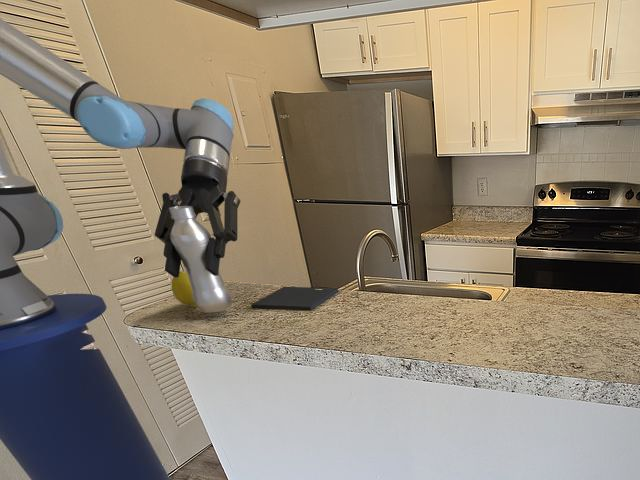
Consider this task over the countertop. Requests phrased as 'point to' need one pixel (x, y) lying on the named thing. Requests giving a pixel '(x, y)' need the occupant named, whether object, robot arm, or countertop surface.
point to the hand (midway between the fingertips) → (191, 272)
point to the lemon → (183, 289)
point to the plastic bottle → (198, 261)
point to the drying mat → (295, 298)
